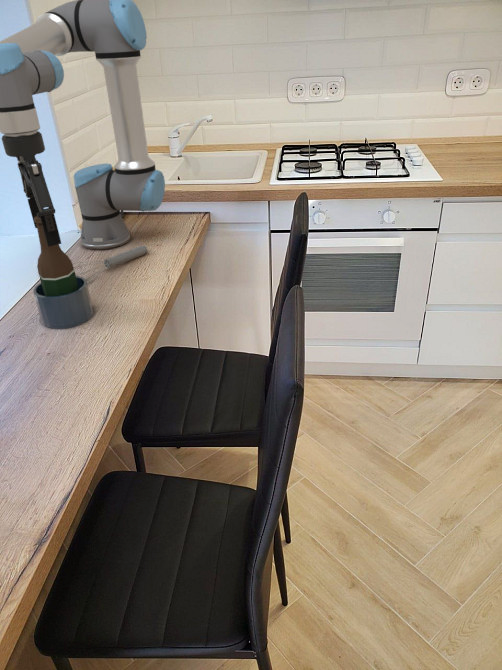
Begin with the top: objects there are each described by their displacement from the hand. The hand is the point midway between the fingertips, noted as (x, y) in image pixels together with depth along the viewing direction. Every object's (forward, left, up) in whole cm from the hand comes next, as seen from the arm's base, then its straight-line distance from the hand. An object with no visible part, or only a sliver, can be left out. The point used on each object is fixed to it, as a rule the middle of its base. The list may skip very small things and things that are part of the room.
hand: (47, 235), depth 115 cm
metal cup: (0, 0, -20) cm, 20 cm away
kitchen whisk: (-25, -3, -20) cm, 33 cm away
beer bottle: (0, 0, -20) cm, 20 cm away
